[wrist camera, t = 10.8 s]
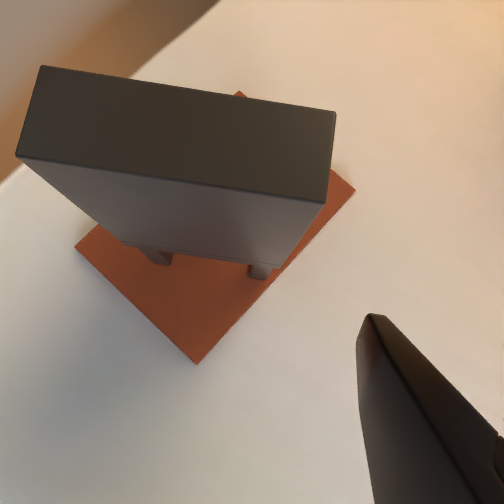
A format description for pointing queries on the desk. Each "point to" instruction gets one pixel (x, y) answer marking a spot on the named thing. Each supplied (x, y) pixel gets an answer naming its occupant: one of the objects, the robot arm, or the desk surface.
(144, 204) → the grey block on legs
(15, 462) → the desk surface
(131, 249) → the mat
